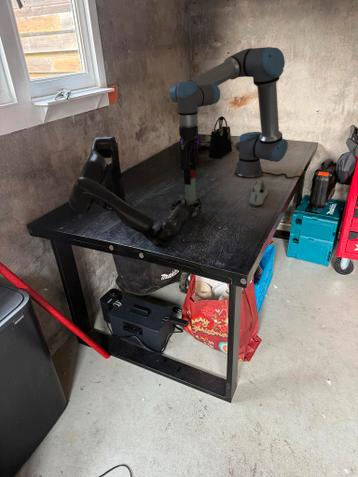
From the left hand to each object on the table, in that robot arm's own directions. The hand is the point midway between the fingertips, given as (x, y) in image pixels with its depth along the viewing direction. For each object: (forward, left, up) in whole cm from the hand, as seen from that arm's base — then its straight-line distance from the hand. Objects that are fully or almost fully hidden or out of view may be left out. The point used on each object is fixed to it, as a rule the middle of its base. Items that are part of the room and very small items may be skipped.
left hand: (193, 199), depth 147 cm
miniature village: (+12, +116, -6) cm, 117 cm away
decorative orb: (-31, +92, -6) cm, 97 cm away
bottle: (0, -3, -6) cm, 7 cm away
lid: (0, -3, +14) cm, 14 cm away
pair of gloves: (-24, +116, -6) cm, 119 cm away
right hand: (0, -3, +9) cm, 10 cm away
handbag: (-9, +91, -6) cm, 92 cm away
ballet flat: (+26, +23, -6) cm, 35 cm away
